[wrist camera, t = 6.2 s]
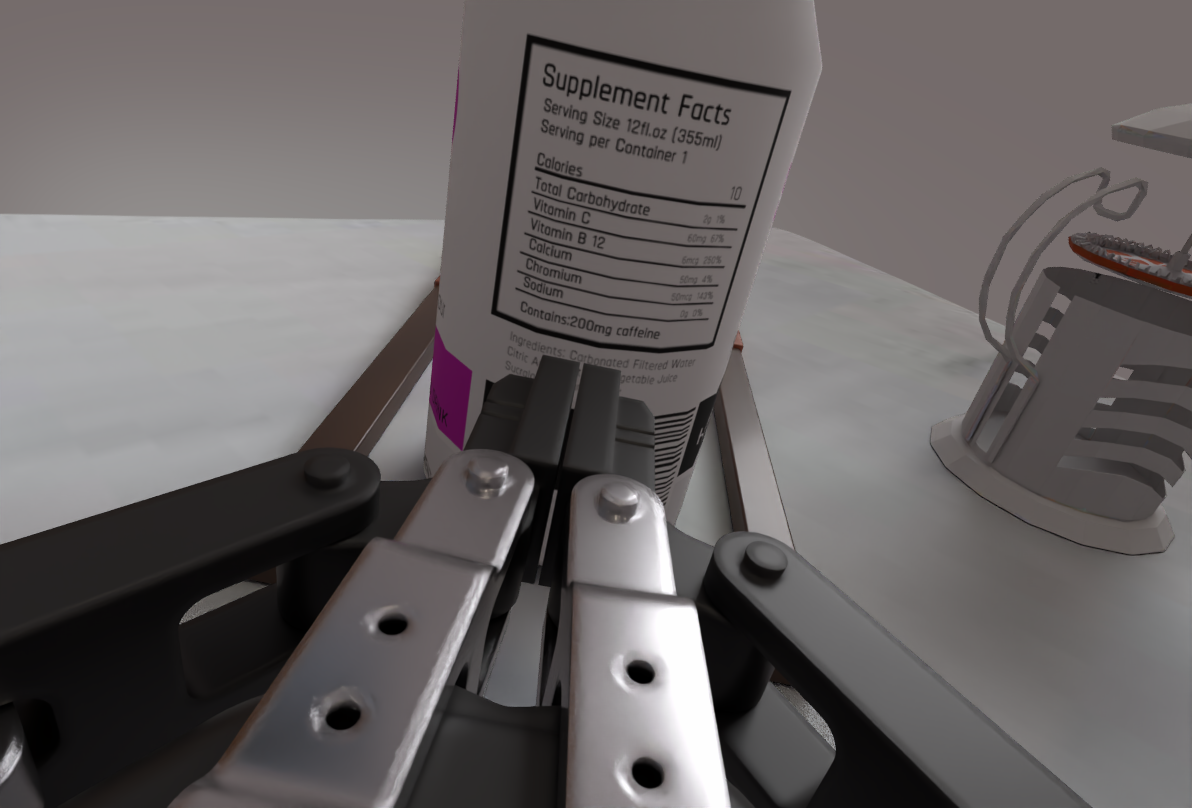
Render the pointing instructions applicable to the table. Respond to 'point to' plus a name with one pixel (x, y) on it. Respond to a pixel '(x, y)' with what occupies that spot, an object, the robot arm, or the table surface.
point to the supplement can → (613, 201)
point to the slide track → (412, 351)
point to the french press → (1089, 378)
